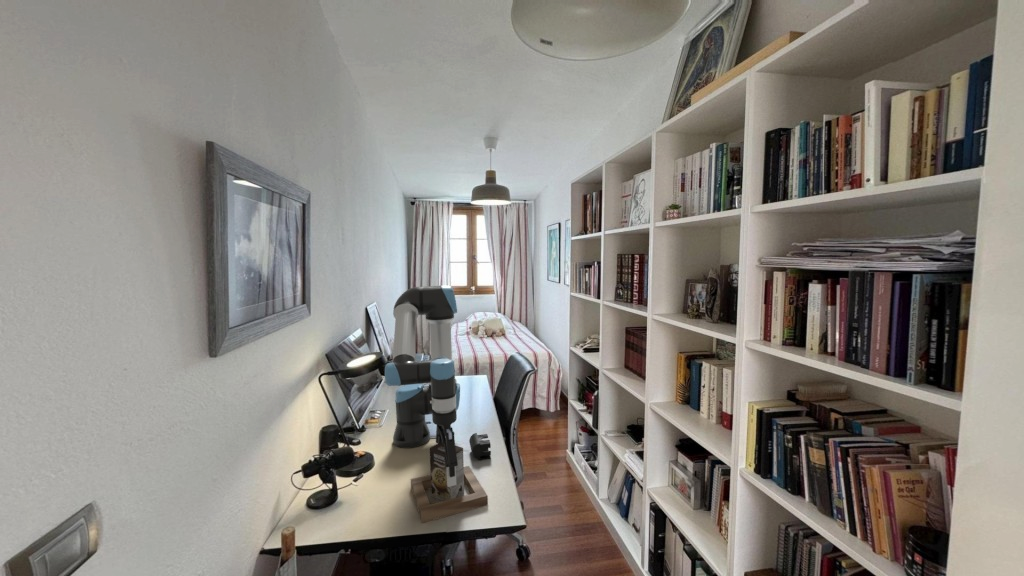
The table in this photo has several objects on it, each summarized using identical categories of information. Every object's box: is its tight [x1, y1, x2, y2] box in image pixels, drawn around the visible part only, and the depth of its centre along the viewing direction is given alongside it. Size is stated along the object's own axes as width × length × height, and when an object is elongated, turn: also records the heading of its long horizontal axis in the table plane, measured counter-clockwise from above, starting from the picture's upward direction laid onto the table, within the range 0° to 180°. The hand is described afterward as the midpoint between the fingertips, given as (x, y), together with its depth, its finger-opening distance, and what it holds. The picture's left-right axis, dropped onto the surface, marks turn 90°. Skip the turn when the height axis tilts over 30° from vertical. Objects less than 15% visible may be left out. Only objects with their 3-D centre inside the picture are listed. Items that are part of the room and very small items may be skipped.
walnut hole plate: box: [410, 465, 489, 524], centre depth 130 cm, size 20×20×3 cm
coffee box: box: [429, 442, 465, 502], centre depth 129 cm, size 9×6×16 cm
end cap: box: [468, 432, 492, 461], centre depth 157 cm, size 10×7×7 cm
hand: (447, 475), depth 129 cm, fingers open, 12 cm apart
